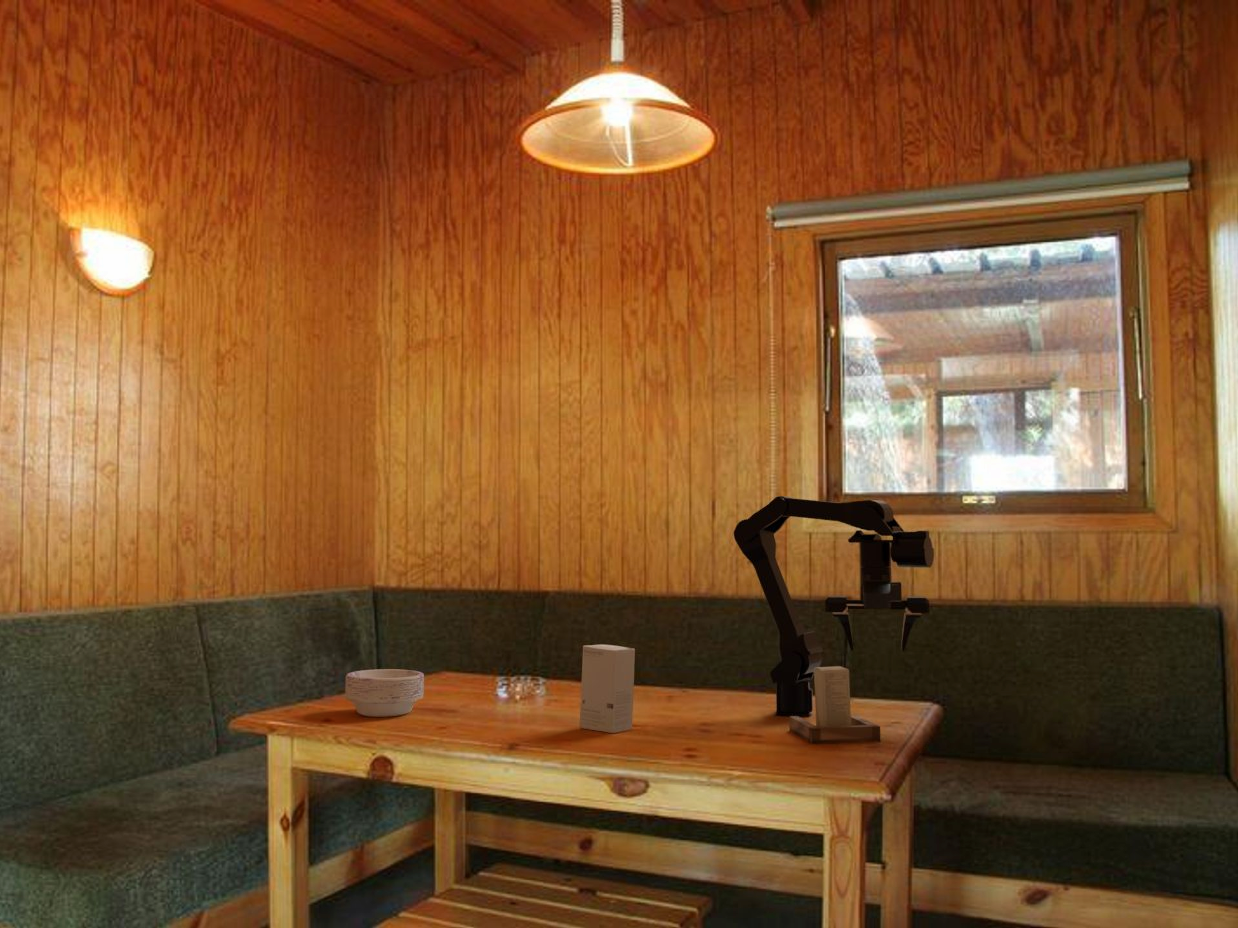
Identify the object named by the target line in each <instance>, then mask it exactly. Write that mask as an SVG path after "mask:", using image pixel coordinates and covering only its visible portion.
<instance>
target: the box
mask: <svg viewBox="0 0 1238 928" xmlns="http://www.w3.org/2000/svg"><path fill="white" fill-rule="evenodd" d="M813 678H814V679H813V681H814V700H815V701H814V705H815V726H817V727H826V726H851V714H852V713H851V689H850V669H848V668H846V667H844V666H840V665H838V666H837V665H836V666H820V667H815V668H814V675H813Z"/></svg>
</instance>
